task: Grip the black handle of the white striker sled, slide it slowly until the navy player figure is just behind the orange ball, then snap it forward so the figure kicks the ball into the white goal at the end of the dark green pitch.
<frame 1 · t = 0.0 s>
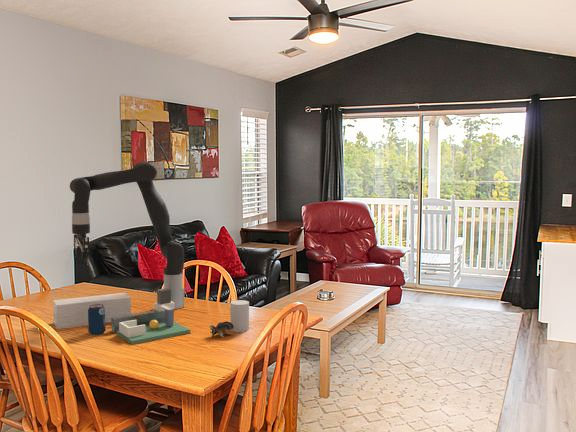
hand: (81, 258, 249), 29 cm above the table, tool pointing down, fingers open, 8 cm apart
toy animal figurine: (221, 337, 232), on the table
cup: (239, 329, 242), on the table
striker sled: (169, 306, 247), point 9 cm above the table, slide at 0.0 cm
rail: (143, 326, 245), on the table
ball: (154, 324, 236), point 3 cm above the table, touching pitch
soda can: (97, 334, 235), on the table
pitch: (153, 333, 234), on the table
goal: (132, 336, 231), resting on pitch
white ribbed long block: (92, 322, 253), on the table
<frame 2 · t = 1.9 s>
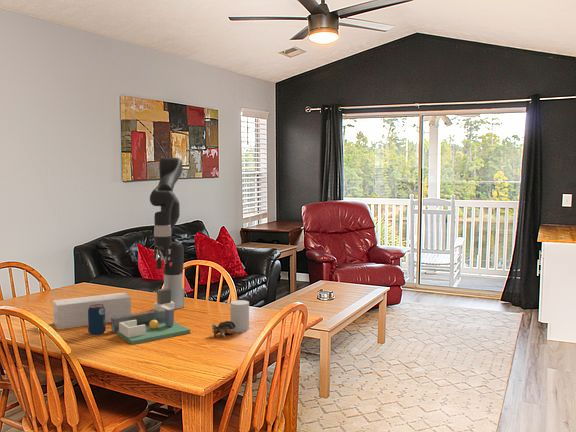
hand: (163, 270, 249), 24 cm above the table, tool pointing down, fingers open, 8 cm apart
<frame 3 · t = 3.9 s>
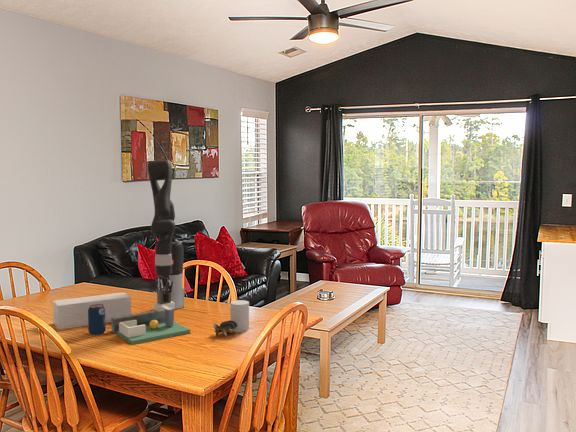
hand: (164, 300, 251), 10 cm above the table, tool pointing down, fingers closed on striker sled, 3 cm apart
toy animal figurine: (225, 335, 233), on the table
striker sled: (169, 306, 247), point 9 cm above the table, slide at 0.0 cm, touching gripper
everything else where it was.
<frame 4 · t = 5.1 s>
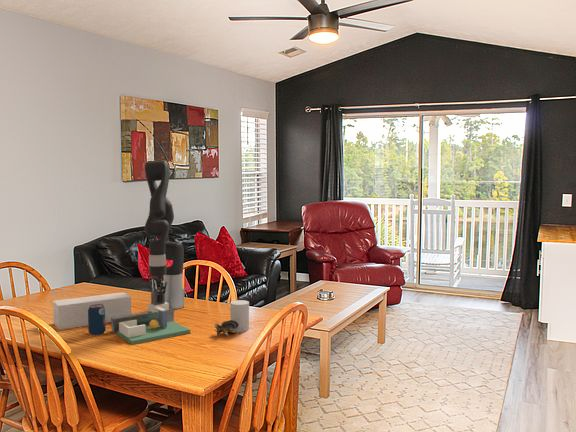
hand: (158, 301, 249), 10 cm above the table, tool pointing down, fingers closed on striker sled, 3 cm apart
striker sled: (163, 307, 245), point 9 cm above the table, slide at 2.9 cm, touching gripper
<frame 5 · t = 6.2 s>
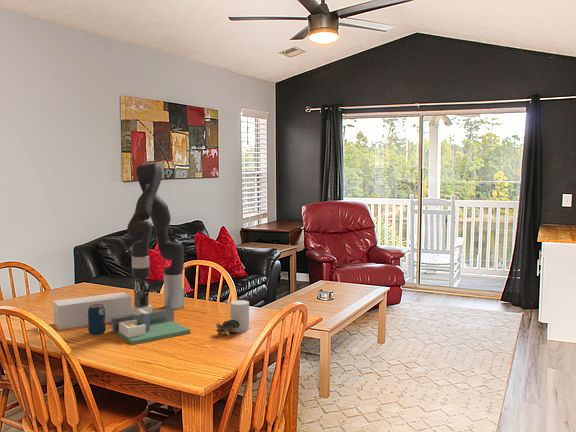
hand: (141, 304, 244), 10 cm above the table, tool pointing down, fingers closed on striker sled, 3 cm apart
striker sled: (146, 310, 240), point 9 cm above the table, slide at 10.8 cm, touching gripper
ball: (130, 328, 230), point 3 cm above the table, tilted 72°, touching pitch
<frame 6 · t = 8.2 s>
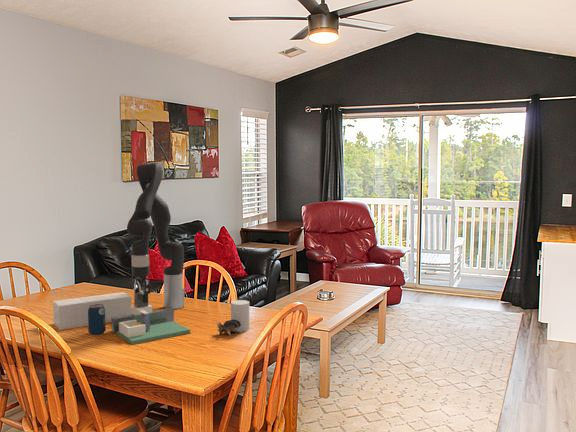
hand: (141, 300, 244), 12 cm above the table, tool pointing down, fingers open, 8 cm apart
striker sled: (146, 310, 240), point 9 cm above the table, slide at 10.9 cm
ball: (138, 327, 232), point 3 cm above the table, tilted 170°, touching pitch
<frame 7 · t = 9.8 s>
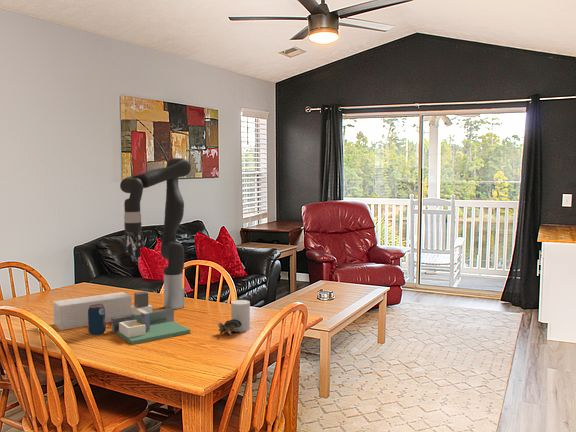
hand: (133, 256, 255), 30 cm above the table, tool pointing down, fingers open, 8 cm apart
ball: (138, 327, 232), point 3 cm above the table, tilted 161°, touching pitch
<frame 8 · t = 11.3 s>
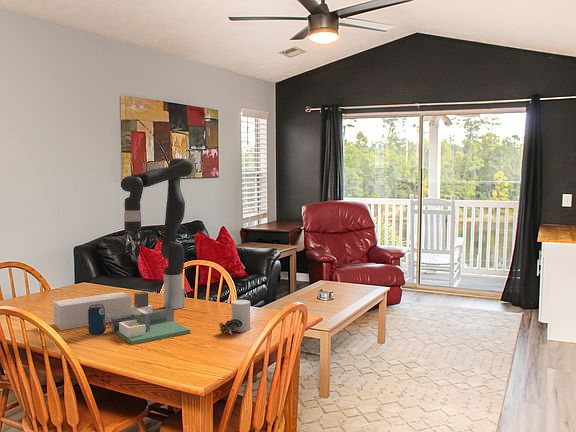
hand: (133, 254, 256), 30 cm above the table, tool pointing down, fingers open, 8 cm apart
ball: (137, 327, 232), point 3 cm above the table, tilted 153°, touching pitch
at the end: ball inside the target area (2.2 cm from its centre), point 3.5 cm above the table; striker sled slide at 10.9 cm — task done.
